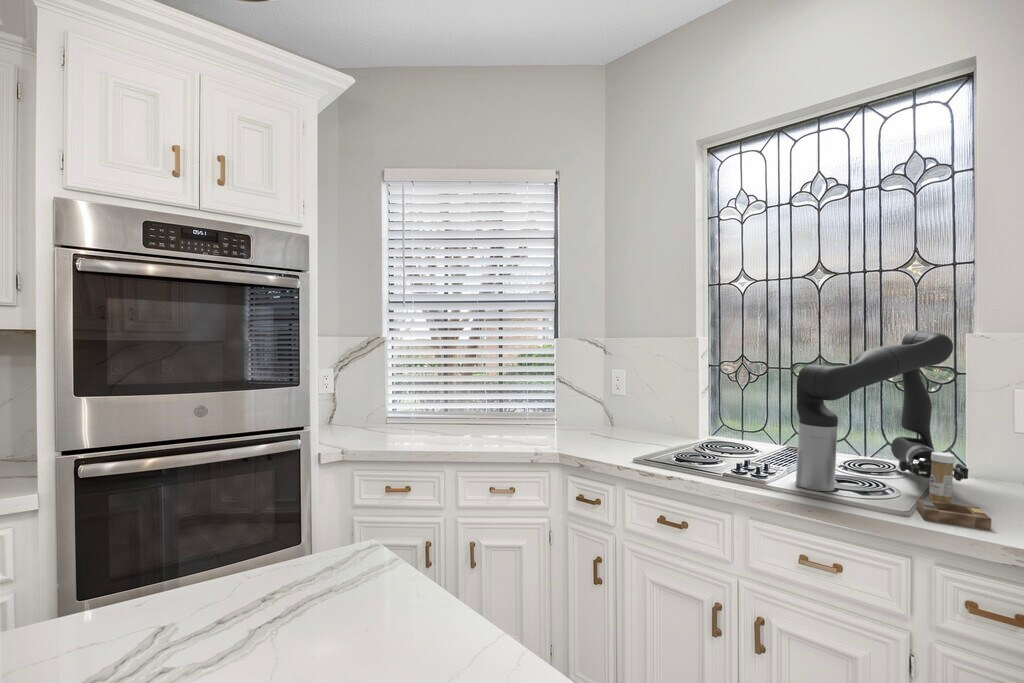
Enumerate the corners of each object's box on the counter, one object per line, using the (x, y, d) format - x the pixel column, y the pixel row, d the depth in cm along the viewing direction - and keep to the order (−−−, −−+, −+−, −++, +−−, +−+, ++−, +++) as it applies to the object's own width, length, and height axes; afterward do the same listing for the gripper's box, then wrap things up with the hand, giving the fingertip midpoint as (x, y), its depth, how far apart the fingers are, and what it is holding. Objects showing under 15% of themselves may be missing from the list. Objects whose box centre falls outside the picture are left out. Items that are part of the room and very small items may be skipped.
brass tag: (973, 513, 126) (973, 511, 126) (969, 509, 129) (969, 507, 129) (985, 514, 125) (985, 513, 125) (980, 510, 128) (980, 509, 128)
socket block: (923, 519, 128) (924, 509, 128) (916, 508, 136) (916, 498, 136) (990, 530, 122) (991, 518, 122) (978, 517, 130) (979, 507, 130)
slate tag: (924, 505, 130) (924, 504, 130) (921, 502, 133) (921, 500, 133) (934, 507, 129) (934, 506, 129) (931, 503, 132) (931, 502, 132)
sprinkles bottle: (923, 504, 139) (926, 451, 139) (940, 504, 140) (943, 451, 139) (939, 510, 135) (942, 455, 134) (956, 510, 135) (959, 455, 135)
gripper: (894, 444, 157) (904, 455, 143) (957, 450, 151) (975, 463, 137) (892, 470, 158) (903, 484, 143) (955, 478, 151) (973, 493, 137)
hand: (938, 474), depth 140 cm, fingers open, 8 cm apart
